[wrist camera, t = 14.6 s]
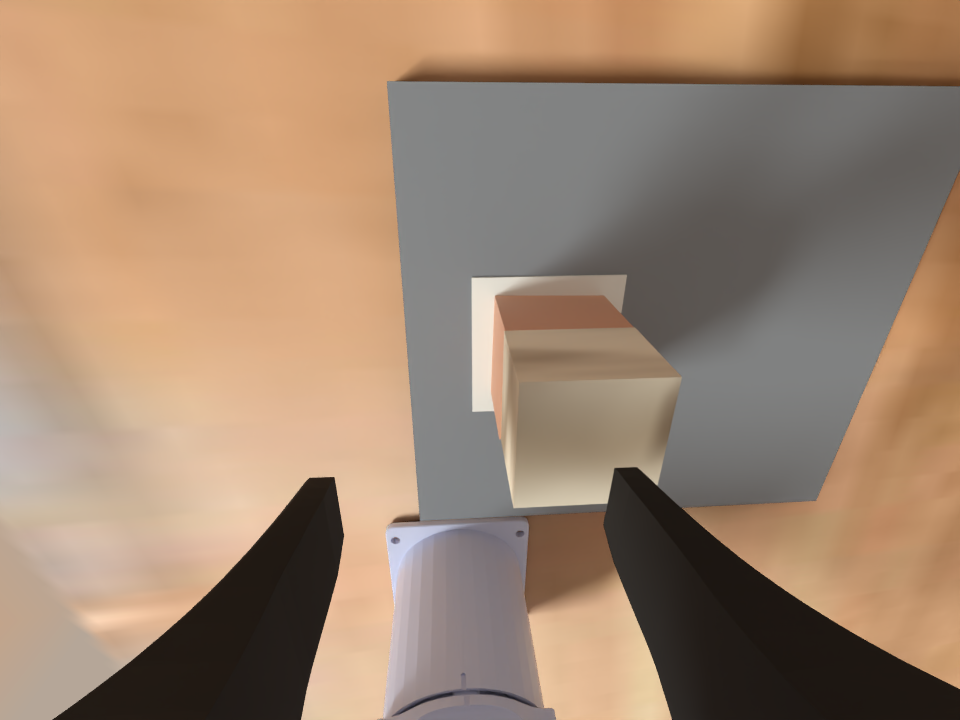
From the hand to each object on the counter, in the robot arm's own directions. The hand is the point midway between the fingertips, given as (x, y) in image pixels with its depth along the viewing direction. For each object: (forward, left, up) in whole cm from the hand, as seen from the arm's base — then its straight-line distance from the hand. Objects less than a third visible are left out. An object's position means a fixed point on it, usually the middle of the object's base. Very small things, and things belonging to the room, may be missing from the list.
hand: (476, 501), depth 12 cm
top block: (0, -4, -6) cm, 7 cm away
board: (0, -9, -10) cm, 13 cm away
